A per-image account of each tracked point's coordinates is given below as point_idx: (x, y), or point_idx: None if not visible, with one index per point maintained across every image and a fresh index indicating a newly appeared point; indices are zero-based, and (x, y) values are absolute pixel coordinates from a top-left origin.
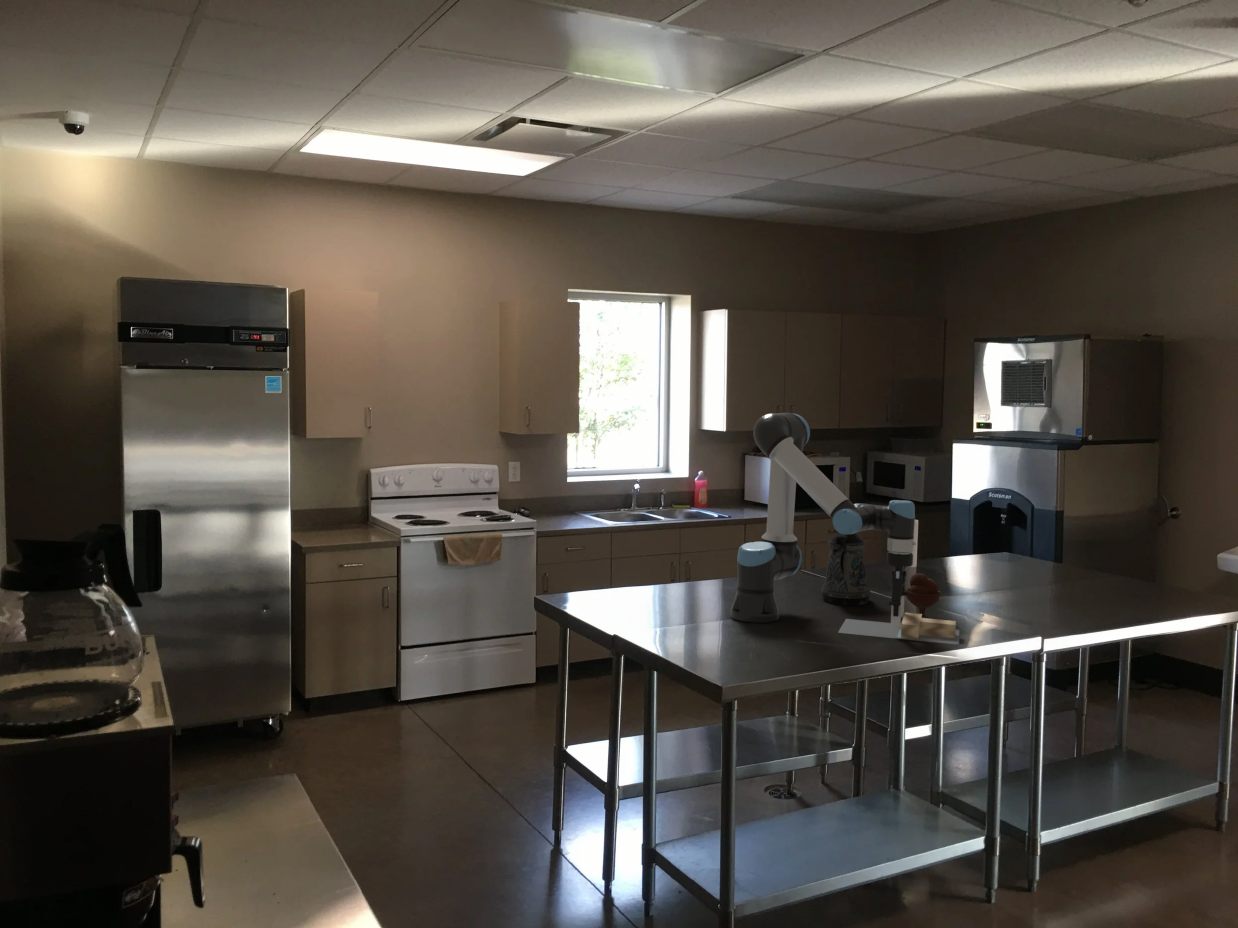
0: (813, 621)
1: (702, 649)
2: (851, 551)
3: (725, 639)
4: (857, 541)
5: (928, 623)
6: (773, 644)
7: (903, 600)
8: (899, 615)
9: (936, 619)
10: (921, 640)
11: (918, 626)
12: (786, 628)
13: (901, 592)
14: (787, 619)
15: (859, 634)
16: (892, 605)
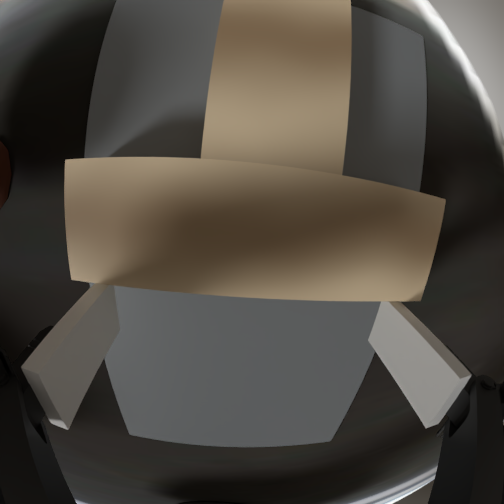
0: (198, 476)
1: (417, 481)
2: None
3: (376, 493)
4: None
5: (345, 114)
6: (410, 462)
7: (58, 353)
8: (430, 338)
9: (219, 42)
10: (415, 176)
11: (442, 201)
12: (293, 490)
13: (485, 466)
14: (206, 495)
15: (348, 401)
16: (440, 416)
